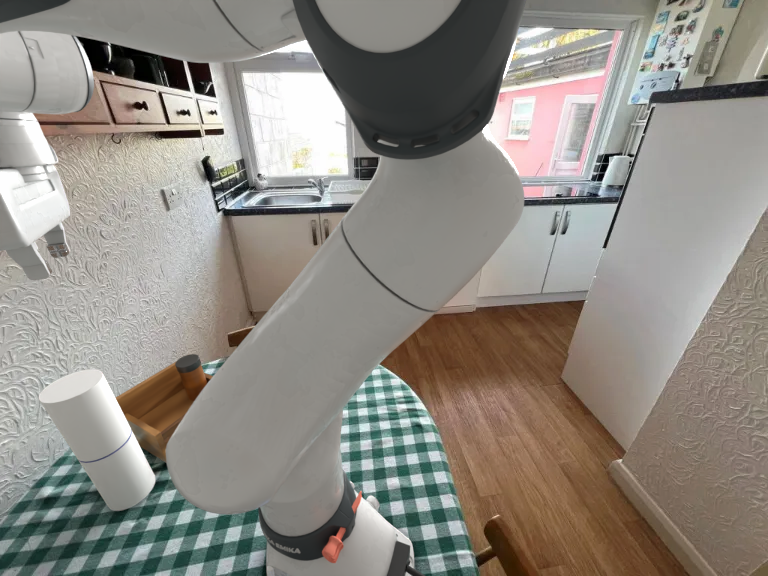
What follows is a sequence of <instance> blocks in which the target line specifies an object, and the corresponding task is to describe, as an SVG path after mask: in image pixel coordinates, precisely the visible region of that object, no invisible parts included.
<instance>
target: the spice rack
mask: <svg viewBox="0 0 768 576" xmlns="http://www.w3.org/2000/svg"><path fill="white" fill-rule="evenodd" d="M213 376H214V375H211V374H209V373H206V372H204V369H203V366H202V361H201V358H200V356H199V354H195V353H191V354H185V355H184V356H181V357H180V358H178V359H177V360H176V361H174V362H172V363H171V364H170V365H167V366H166V367H164V368H162V369H161V370H159V371H157V372H156V373H154V374H152V375H151V376H149V377H147V378H146V379H144V380H142V381H140V382H139V383H137V384H136V385H134V386H133V387H131V388H129V389H127V390H126V391H124V392H123V393H121V394H118V395H117V396H116V397H115V398H116V400H117V402H118V404H119V406H120V408H121V410H122V412H123V414H124V416H125V418H126V420H127V422H128V424H129V426H130V428H131V430H132V432H133V434H134V436H135V438H136V440H137V442H138V444H139V446H140V448H141V449H143V450H145V451H147V452H148V453H150V454H151V455H152V456H154V457H156V458H157V459H159V460H161V461H163V462H164V463H166V464H167V462H166V447H167V443H168V441H169V440H170V438H171V436H172V435H173V433H174V431H175V430H176V428H177V427H178V425H179V423H180V422H181V420H182V419H183V417H184V416H185V414H186V413H187V411H188V410H189V408H190V407H191V405H192V404H193V402H194V401H195V399H196V398H197V397H198V395H199V394H200V392H201V391H202V389H203V388H204V387H205V386H206V384H207V383H208V382H209V381H210V380H211V378H212V377H213Z"/></svg>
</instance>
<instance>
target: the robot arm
mask: <svg viewBox="0 0 768 576" xmlns="http://www.w3.org/2000/svg"><path fill="white" fill-rule="evenodd" d="M526 3H527V0H0V252H1V251H5V252H6V254H7V255H8V257H10V259H11V260H13V261H14V262H15V263H16V264H17V265H18V266H19V267H20V268H22V270H23V272H24V274H25V275H26V277H27V279H29V280H30V281H39V280H46V279H48V278H49V277H50V276H51V275H52V273H53V269H52V268H51V266H50V263H49V262H48V260H44V258H43V256H42V255H41V253H39V246H38V245H37V242H36V241H38V240H39V239H40V238H42V237H43V236H44V239H45V241H46V243H47V245H46V249H47V250H48V252H49V255H50V257H52V258H54V259H59V258H65V257H67V256H69V254H71V249H70V246H69V245H68V243H67V236H66V230H65V227H64V225H63V223H62V222H64V221H65V220H67V219H68V218H69V217H71V208H70V203H69V199H68V196H67V194H66V191H65V187H64V185H63V182H62V180H61V177H60V174H59V172H58V169H57V167H56V166H55V165H56V164H58V163H59V158H58V156H57V153H56V151H55V149H54V148H53V146H52V145H50V144H49V143H48V140H47V138H46V137H45V134H44V131H43V130H42V127H41V125H40V123H39V120H38V119H37V118H36V116H35V114H40V115H66V114H71V113H78V112H81V111H82V110H84V109H85V108H86V107H87V106H88V105H89V103H90V102H91V100H92V97H93V95H94V89H95V79H94V73H93V68H92V65H91V62H90V60H89V57H88V55H87V52H86V50H85V48H84V47H83V44H82V43H81V41H80V40H79V37H80V38H83V39H84V38H85V39H90V40H95V41H99V42H104V43H109V44H113V45H117V46H121V47H124V48H130V49H133V50H136V51H141V52H145V53H149V54H154V55H158V56H161V57H166V58H171V59H174V60H178V61H184V62H190V63H198V64H214V63H215V64H217V63H232V62H243V61H247V60H251V59H255V58H259V57H262V56H265V55H268V54H271V53H275V52H278V51H281V50H283V49H286V48H289V47H293V46H295V45H297V44H302V43H305V42H306V43H307V45H308V47H309V49H310V52H311V53H312V55H313V57H314V59H315V61H316V63H317V65H318V66H319V68H320V70H321V71H322V74H323V75H324V77H325V79H326V80H327V82H328V84H329V85H330V87H331V88H332V89H333V91H334V93H335V95H336V96H337V97H338V99H339V100H340V102H341V104H342V106H343V108H344V109H345V111H346V113H347V114H348V116H349V118H350V120H351V122H352V124H353V126H354V127H355V129H356V131H357V133H358V135H359V136H360V138H361V140H362V142H363V144H364V145H365V147H366V148H367V149H368V150H369V151H370V152H372V153H374V154H376V155H378V156H379V161H378V164H377V167H376V170H375V172H374V174H373V176H372V178H371V179H370V181H369V183H368V185H367V186H366V188H365V189H364V190H363V192H362V193H361V194H360V196H359V197H358V198H357V199H356V201H355V202H354V203H353V204H352V206H351V207H350V208H349V209H348V211H347V212H346V213H345V215H343V217H342V218H341V219H340V221H339V223H337V225H336V226H335V227H334V229H333V230H332V231H331V233H330V234H329V235H328V236H327V238H326V239H325V240H324V242H322V244H321V246H320V247H319V248H318V249H317V251H316V252H315V253H314V254H313V256H312V257H311V258H310V259H309V261H308V262H307V264H306V265H305V266H304V267H303V269H302V270H301V271H300V273H299V274H298V275H297V276H296V278H295V279H294V280H293V281H292V283H290V285H289V286H288V287H287V288H286V290H285V291H283V293H282V294H281V296H279V297H278V299H276V301H275V302H274V303H273V305H272V306H271V307H270V308H269V309H268V310H267V311H266V313H265V314H264V315H263V316H262V317H261V319H259V321H258V322H257V323H256V325H254V327H253V328H252V329H251V330H250V331H249V333H248V334H247V335H246V336H245V337H244V339H242V341H241V342H240V343H239V345H238V346H237V347H235V349H234V350H233V352H232V353H231V354H230V355H229V356H228V358H227V359H226V360H225V361H224V362H223V363H222V365H221V366H220V367H219V368H218V370H217V371H216V372H215V373H214V375H212V376H213V377H212V378H211V380H210V381H209V382H208V383H207V384H206V386H205V387H204V388H203V389H202V391H201V392H200V394H199V395H198V397H197V398H196V399H195V401H194V402H193V404H192V405H191V407H190V408H189V410H188V411H187V413H186V414H185V416H184V417H183V419H182V420H181V422H180V423H179V425H178V427H177V428H176V430H175V431H174V433H173V435H172V436H171V438H170V440H169V441H168V443H167V447H166V462H167V463H166V462H165V463H166V468H167V472H168V475H169V477H170V480H171V482H172V484H173V486H174V488H175V489H176V490H177V492H178V493H179V494H180V496H181V497H183V499H185V500H186V501H187V502H188V503H189V504H191V505H192V506H194V507H196V508H198V509H200V510H202V511H205V512H208V513H210V514H214V515H215V514H216V515H228V516H229V515H237V514H243V513H247V512H252V511H254V510H258V511H257V512H258V522H259V525H260V530H261V531H262V534H263V535H264V537H265V540H266V552H265V553H266V555H265V557H266V559H265V560H266V561H265V562H266V563H265V567H266V576H426V575H425V574H423V573H422V572H421V571H419V570H417V569H415V552H414V547H413V543H412V541H411V540H410V538H408V536H406V535H405V534H404V533H402V532H401V531H400V530H398V529H397V528H396V527H395V526H394V525H392V524H391V523H390V522H389V521H388V520H387V519H386V518H385V517H384V516H382V514H381V513H379V511H378V510H379V509H380V502H379V500H378V499H377V497H375V496H373V495H371V494H370V495H368V496H367V498H366V499H365V498H364V497H363V495H362V494H363V491H362V490H360V491H359V492H357V491H356V490H355V488H356V485H355V484H354V483H353V482H352V481H351V480H349V477H348V475H347V473H346V471H345V470H344V468H343V457H342V446H341V441H342V440H341V439H342V428H343V427H342V426H343V415H344V407H346V406H347V404H348V403H349V402H350V400H351V399H352V398H353V397H354V395H356V393H357V392H358V390H359V389H360V388H361V386H362V385H363V384H364V383H365V381H366V380H367V379H368V378H369V377H370V375H371V374H372V373H373V372H374V370H375V369H376V368H377V367H378V366H379V365H380V364H381V363H382V362H383V361H384V360H385V359H386V358H387V357H388V356H389V355H390V354H392V353H393V351H395V350H396V349H397V348H398V347H399V346H400V345H402V344H403V343H404V342H405V341H406V340H407V339H408V338H409V337H411V335H413V334H414V333H415V332H416V331H417V330H419V329H420V328H421V327H422V326H423V325H424V324H426V322H428V321H429V320H430V319H431V318H432V317H433V316H434V315H435V314H437V313H438V312H439V311H440V310H441V309H442V308H443V307H445V305H447V304H448V303H449V302H450V301H451V300H452V299H454V298H455V296H457V294H459V293H460V292H461V290H462V289H463V288H464V287H466V285H467V284H468V283H470V282H471V280H472V279H473V278H474V277H475V276H476V275H477V274H478V273H479V272H480V270H482V268H483V267H484V266H485V265H486V264H487V263H488V262H489V260H490V259H491V258H492V257H493V255H494V254H495V253H496V252H497V251H498V249H499V248H500V247H501V246H502V245H503V243H504V242H505V240H506V239H507V238H508V237H509V235H510V234H511V233H512V232H513V230H514V229H515V228H516V226H517V224H518V223H519V221H520V219H521V217H522V214H523V211H524V207H525V191H524V185H523V181H522V179H521V176H520V173H519V171H518V169H517V167H516V165H515V164H514V161H512V159H511V158H510V156H509V154H508V153H507V152H506V151H505V150H504V149H503V148H502V147H501V146H500V145H499V143H497V141H496V140H495V138H494V137H493V135H492V134H491V131H490V128H489V123H490V122H491V120H492V118H493V116H494V114H495V109H496V106H497V102H498V99H499V96H500V92H501V88H502V85H503V82H504V78H505V77H506V74H507V72H508V70H509V66H510V64H511V61H512V58H513V55H514V51H515V49H516V45H517V39H518V34H519V29H520V26H521V22H522V19H523V15H524V12H525V7H526Z"/></svg>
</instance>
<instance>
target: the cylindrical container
mask: <svg viewBox="0 0 768 576" xmlns="http://www.w3.org/2000/svg"><path fill="white" fill-rule="evenodd" d="M38 400H39V402H40V404H41V405H42V407H43V408H44V410H45V412H46V413H47V414H48V416H49V418H50V419H51V421H52V422H53V424H54V425H55V427H56V428H57V430H58V432H59V433H60V435H61V436H62V438H63V439H64V441H65V442H66V444H67V445H68V448H69V449H70V450H71V451H72V453H73V454H74V456H75V458H76V459H77V461H78V462H79V464H80V465H81V467H82V468H83V470H84V471H85V473H86V474H87V476H88V477H89V479H90V481H91V482H92V484H93V485H94V487H95V489H96V491H97V492H98V493H99V495H100V496H101V498H102V499H103V501H104V502H105V504H106V506H107V508H108V509H110V510H111V511H114V512H120V511H121V512H122V511H124V510H127V509H130V508H132V507H134V506H135V505H137V504H139V503H141V502H142V501H143V500H144V499H145V498H146V497H147V496H148V495H149V494H150V493H151V491H152V490H153V489H154V487H155V484H156V475H155V473H154V471H153V469H152V468H151V465H150V463H149V462H148V460H147V457H146V455H145V454H144V452H143V450H142V447H140V446H139V444H138V442H137V440H136V438H135V436H134V434H133V432H132V430H131V428H130V426H129V424H128V422H127V420H126V418H125V416H124V414H123V412H122V410H121V408H120V406H119V404H118V402H117V400H116V397H115V394H114V392H113V390H112V388H111V387H110V385H109V382H108V381H107V378H106V376H105V375H104V373H103V371H102V370H101V369H97V368H88V369H82V370H78V371H74V372H72V373H69V374H66V375H64V376H62V377H60V378H58V379H56V380H54V381H52V382H51V383H50V384H49V383H48V385H47V386H45V387H44V388H43V389H42V390H41V391H40V393H39V394H38Z"/></svg>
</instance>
